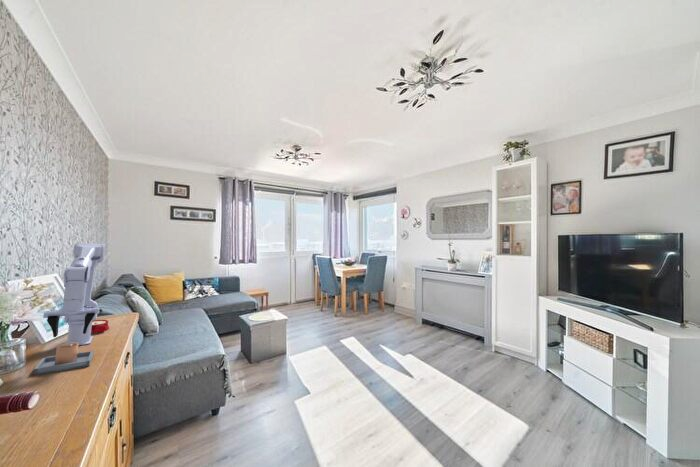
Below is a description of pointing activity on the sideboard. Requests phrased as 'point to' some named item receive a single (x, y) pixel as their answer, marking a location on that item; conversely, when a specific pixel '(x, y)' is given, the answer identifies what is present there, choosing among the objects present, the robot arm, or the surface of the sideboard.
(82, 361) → the tray
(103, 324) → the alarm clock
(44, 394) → the sideboard surface
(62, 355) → the cup
